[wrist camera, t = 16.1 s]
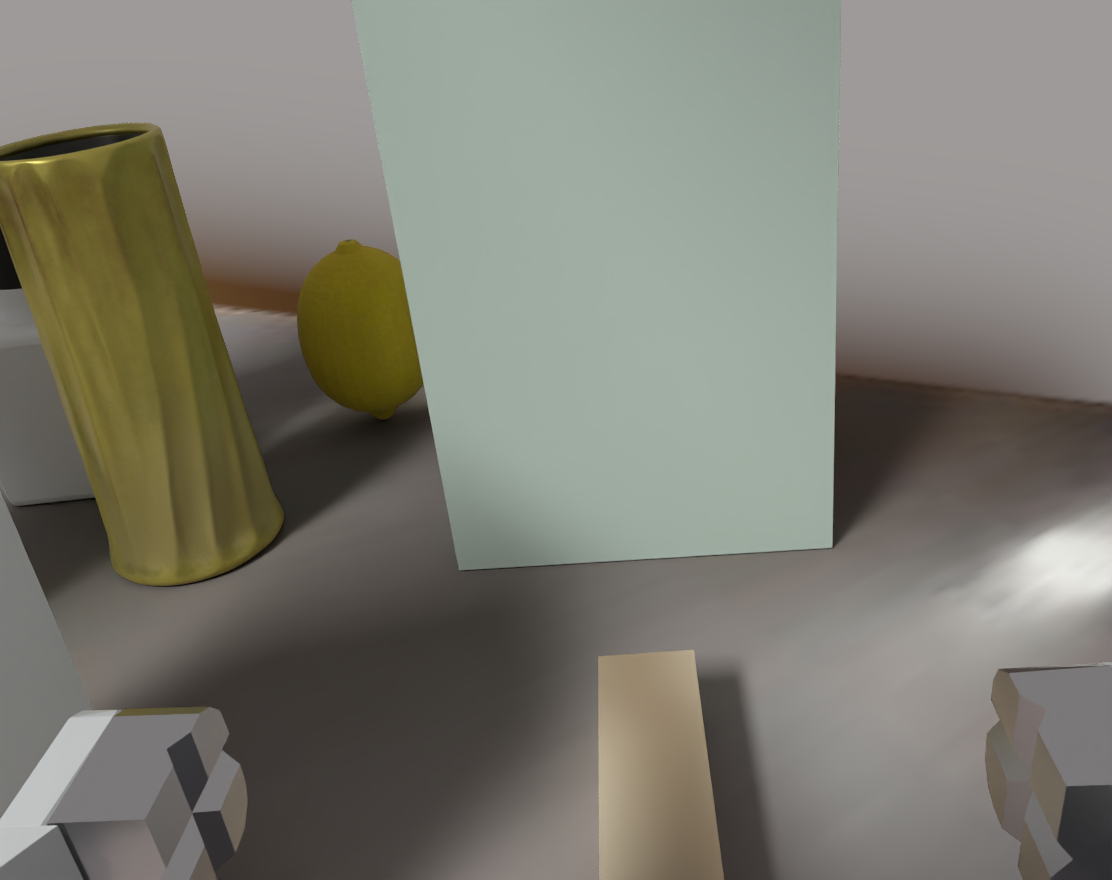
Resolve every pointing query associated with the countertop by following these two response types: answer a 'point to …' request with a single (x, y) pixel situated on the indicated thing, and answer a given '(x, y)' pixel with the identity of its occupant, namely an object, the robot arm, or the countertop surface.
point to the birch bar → (654, 771)
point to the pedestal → (618, 267)
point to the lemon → (359, 330)
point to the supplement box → (29, 668)
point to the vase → (136, 351)
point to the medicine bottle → (32, 408)
